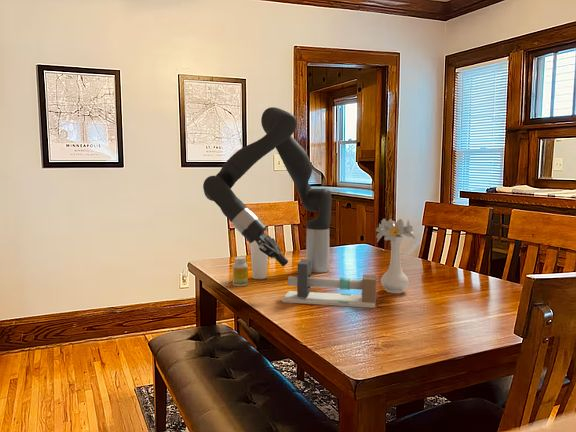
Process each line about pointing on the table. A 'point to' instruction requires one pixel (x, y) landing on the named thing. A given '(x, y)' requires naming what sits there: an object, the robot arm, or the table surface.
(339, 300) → the pipe stand
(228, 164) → the robot arm
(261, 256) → the drinking glass
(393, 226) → the flower vase
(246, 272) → the supplement bottle
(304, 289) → the collar
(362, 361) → the table surface
